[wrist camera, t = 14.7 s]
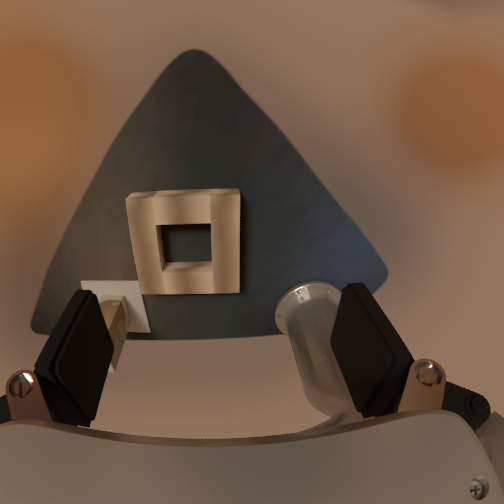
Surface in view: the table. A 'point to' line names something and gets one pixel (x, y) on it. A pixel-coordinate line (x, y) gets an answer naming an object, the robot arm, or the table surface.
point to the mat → (132, 300)
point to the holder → (186, 212)
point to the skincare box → (115, 323)
